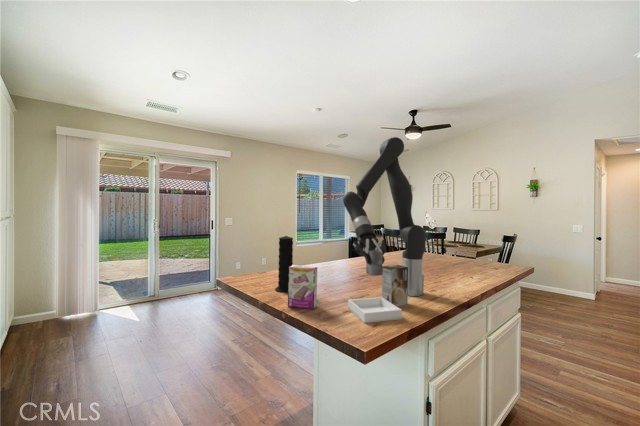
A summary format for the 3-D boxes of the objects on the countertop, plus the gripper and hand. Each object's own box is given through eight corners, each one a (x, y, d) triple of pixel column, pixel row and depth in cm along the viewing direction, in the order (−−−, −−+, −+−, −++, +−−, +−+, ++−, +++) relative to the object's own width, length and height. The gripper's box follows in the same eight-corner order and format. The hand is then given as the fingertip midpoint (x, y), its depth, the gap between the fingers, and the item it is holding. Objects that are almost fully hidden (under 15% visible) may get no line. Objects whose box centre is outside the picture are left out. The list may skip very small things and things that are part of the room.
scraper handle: (376, 272, 110) (376, 249, 110) (382, 275, 106) (382, 251, 106) (366, 273, 109) (366, 250, 109) (371, 275, 105) (371, 252, 105)
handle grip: (271, 291, 133) (291, 293, 131) (272, 236, 133) (292, 237, 131) (279, 286, 143) (297, 287, 141) (279, 234, 143) (298, 235, 141)
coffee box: (397, 300, 124) (398, 264, 124) (407, 304, 119) (408, 267, 118) (381, 303, 120) (381, 265, 120) (391, 307, 114) (392, 268, 114)
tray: (381, 305, 117) (381, 297, 117) (401, 319, 103) (401, 309, 102) (348, 308, 113) (348, 299, 113) (364, 323, 98) (364, 313, 98)
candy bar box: (287, 307, 113) (288, 266, 112) (291, 303, 118) (291, 264, 117) (314, 309, 110) (314, 268, 110) (317, 305, 115) (317, 266, 115)
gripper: (350, 223, 112) (362, 258, 101) (382, 223, 116) (397, 256, 105) (345, 235, 118) (356, 269, 106) (375, 234, 122) (389, 267, 110)
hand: (376, 263), depth 106 cm, fingers closed on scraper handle, 4 cm apart
